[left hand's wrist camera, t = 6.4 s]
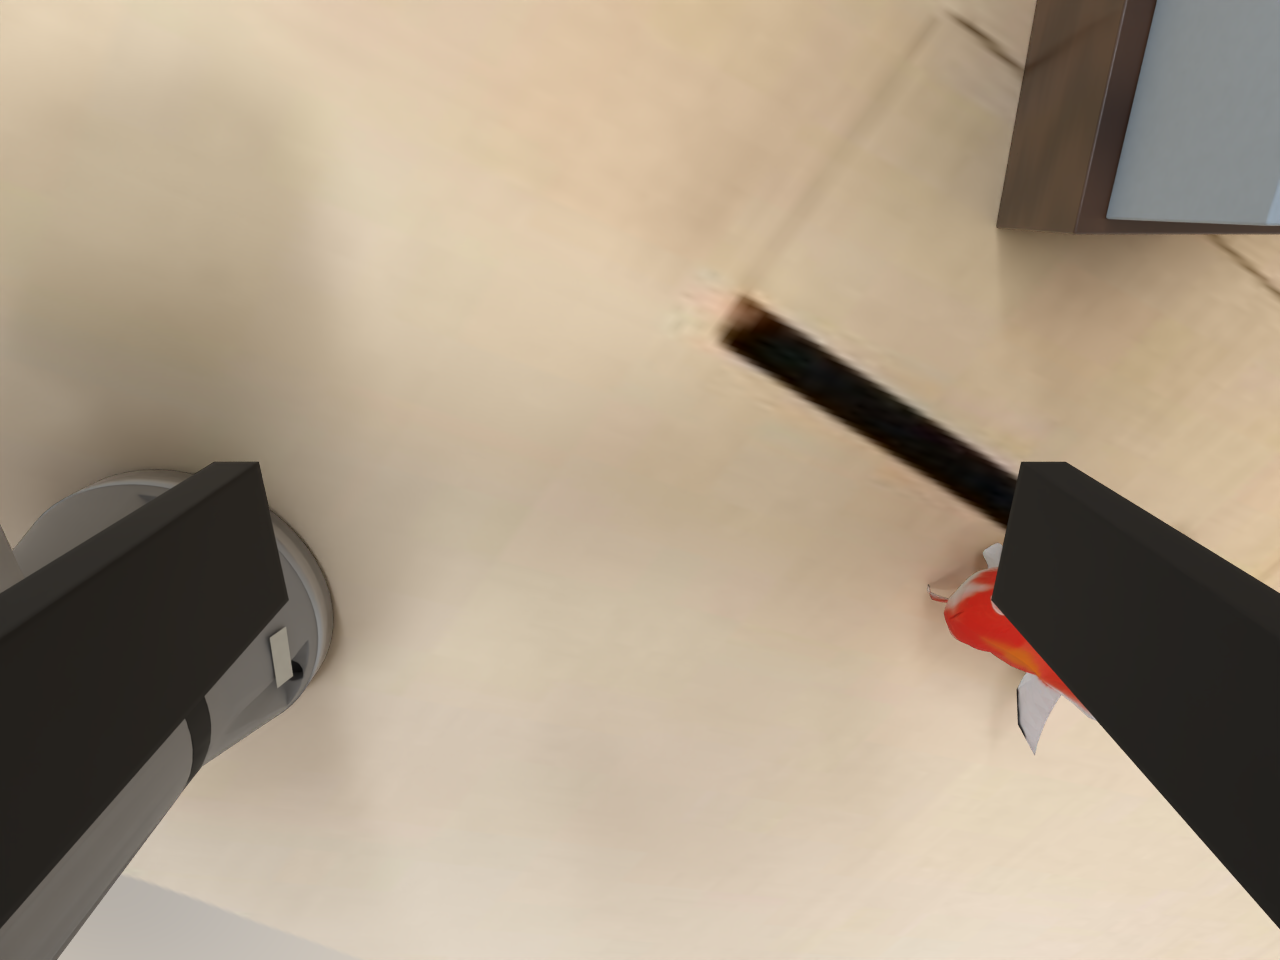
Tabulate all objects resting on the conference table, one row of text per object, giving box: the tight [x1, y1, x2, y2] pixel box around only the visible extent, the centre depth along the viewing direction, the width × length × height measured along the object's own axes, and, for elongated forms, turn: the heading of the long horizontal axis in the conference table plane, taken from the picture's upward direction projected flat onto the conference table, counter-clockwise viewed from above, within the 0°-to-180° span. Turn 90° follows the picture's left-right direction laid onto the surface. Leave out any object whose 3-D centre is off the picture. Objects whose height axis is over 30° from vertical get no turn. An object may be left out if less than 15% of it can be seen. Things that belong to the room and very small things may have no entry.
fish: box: [927, 543, 1097, 755], centre depth 34 cm, size 11×16×10 cm
